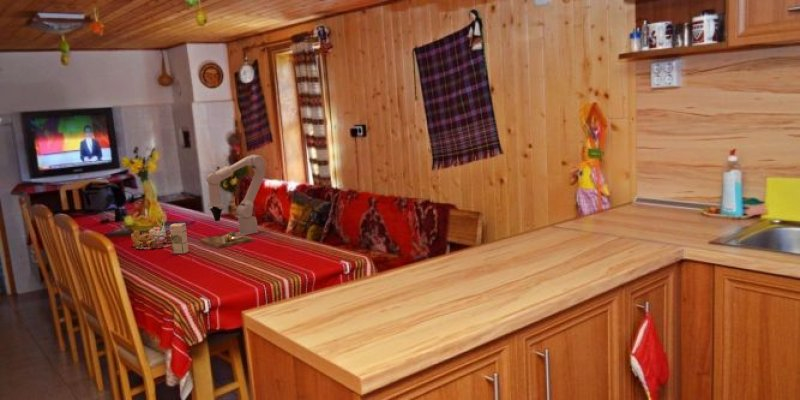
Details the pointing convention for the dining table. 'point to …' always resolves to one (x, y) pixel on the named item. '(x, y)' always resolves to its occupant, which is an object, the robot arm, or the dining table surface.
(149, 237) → the candy landscape model
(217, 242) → the base board
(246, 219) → the robot arm
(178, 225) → the syrup box
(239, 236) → the lever handle
